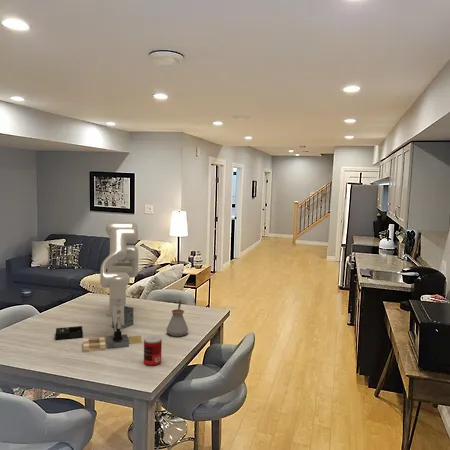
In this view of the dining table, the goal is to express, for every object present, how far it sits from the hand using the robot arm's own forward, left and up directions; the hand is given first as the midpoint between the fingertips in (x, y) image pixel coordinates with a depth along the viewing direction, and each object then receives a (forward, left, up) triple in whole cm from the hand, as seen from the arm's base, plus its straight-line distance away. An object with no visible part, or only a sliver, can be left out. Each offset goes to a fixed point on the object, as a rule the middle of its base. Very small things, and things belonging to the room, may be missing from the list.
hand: (117, 337), depth 202 cm
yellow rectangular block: (0, +8, -4) cm, 9 cm away
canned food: (+25, +13, -4) cm, 28 cm away
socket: (0, 0, -4) cm, 4 cm away
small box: (-25, +5, -4) cm, 26 cm away
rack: (+1, -11, -4) cm, 12 cm away
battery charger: (-17, -23, -4) cm, 29 cm away
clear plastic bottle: (0, 0, -4) cm, 4 cm away
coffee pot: (-11, +33, -4) cm, 35 cm away
